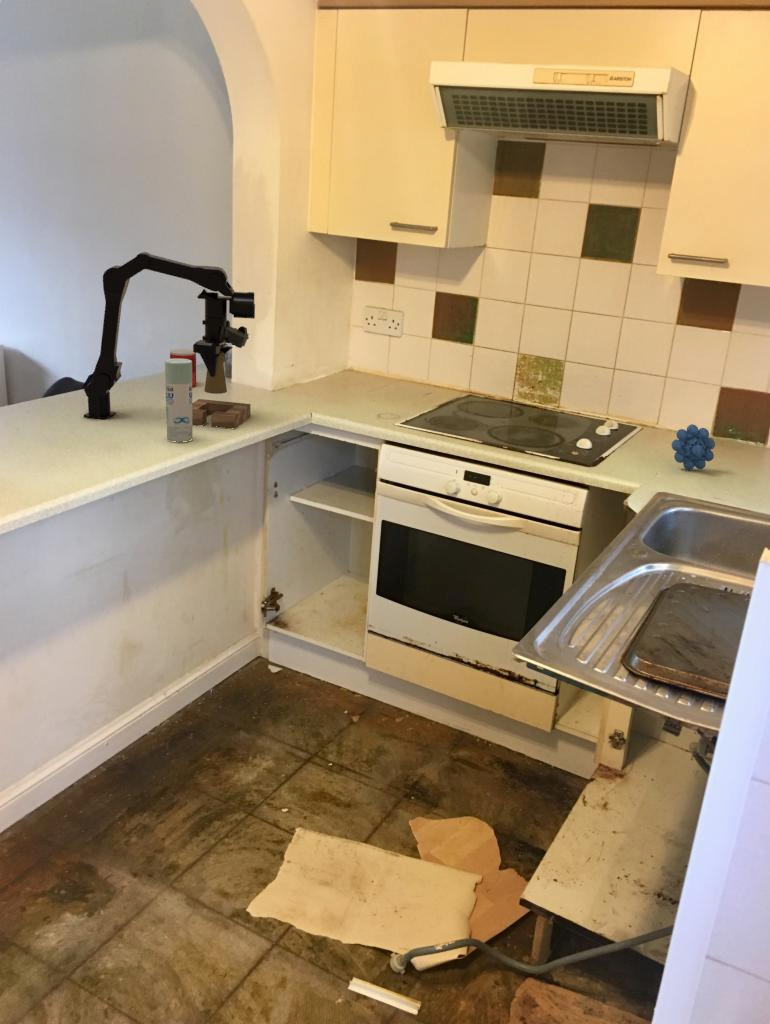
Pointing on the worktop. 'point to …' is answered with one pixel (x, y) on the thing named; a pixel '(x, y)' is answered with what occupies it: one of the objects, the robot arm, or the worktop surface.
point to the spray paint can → (178, 399)
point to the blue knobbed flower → (693, 447)
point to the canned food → (186, 355)
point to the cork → (217, 378)
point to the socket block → (220, 413)
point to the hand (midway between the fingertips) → (215, 374)
